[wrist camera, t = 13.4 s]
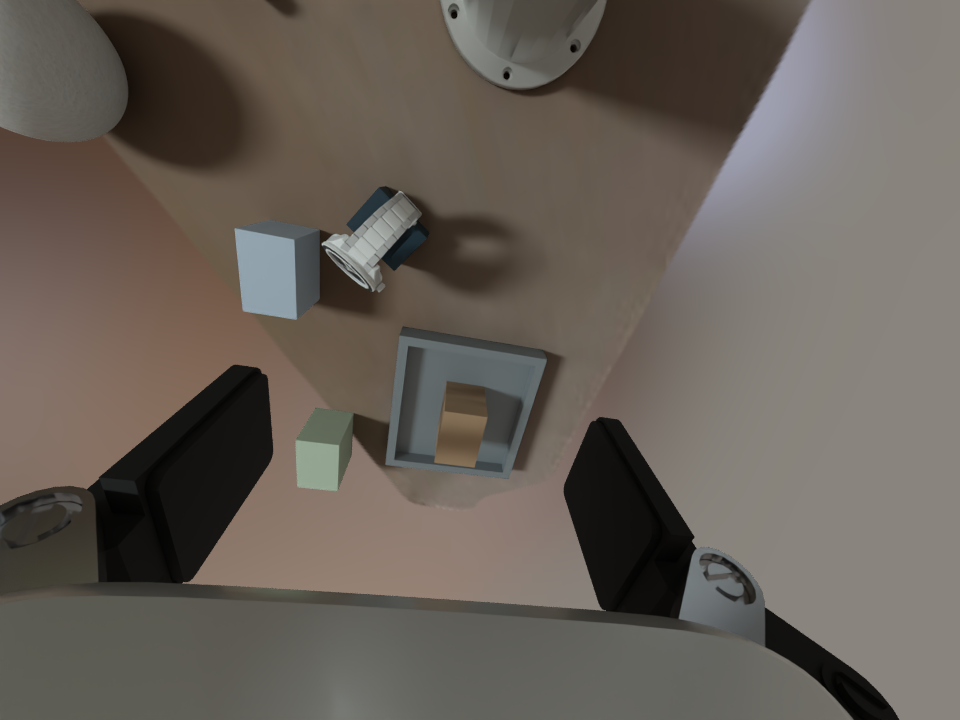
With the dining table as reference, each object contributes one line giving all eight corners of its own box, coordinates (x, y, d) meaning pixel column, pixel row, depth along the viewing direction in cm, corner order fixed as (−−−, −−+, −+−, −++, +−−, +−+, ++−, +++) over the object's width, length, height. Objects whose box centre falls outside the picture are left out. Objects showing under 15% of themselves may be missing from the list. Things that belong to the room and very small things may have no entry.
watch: (342, 235, 34) (295, 259, 25) (398, 171, 32) (371, 170, 22) (387, 277, 36) (360, 314, 27) (443, 220, 34) (435, 239, 24)
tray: (402, 326, 39) (399, 335, 37) (542, 350, 41) (547, 359, 39) (388, 451, 47) (385, 464, 45) (506, 465, 49) (508, 479, 47)
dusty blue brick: (270, 219, 34) (234, 228, 28) (320, 229, 34) (294, 239, 29) (274, 291, 37) (242, 311, 31) (320, 299, 37) (296, 319, 32)
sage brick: (315, 407, 43) (295, 440, 38) (353, 412, 44) (339, 445, 39) (315, 451, 47) (297, 487, 41) (351, 455, 47) (337, 491, 42)
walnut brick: (446, 380, 41) (444, 411, 36) (484, 386, 42) (487, 417, 37) (437, 428, 45) (434, 462, 39) (472, 433, 45) (474, 467, 40)
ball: (185, 75, 28) (59, 30, 20) (130, 174, 31) (0, 174, 22) (42, -56, 25) (-192, -184, 16) (-5, 69, 28) (-224, 20, 19)
